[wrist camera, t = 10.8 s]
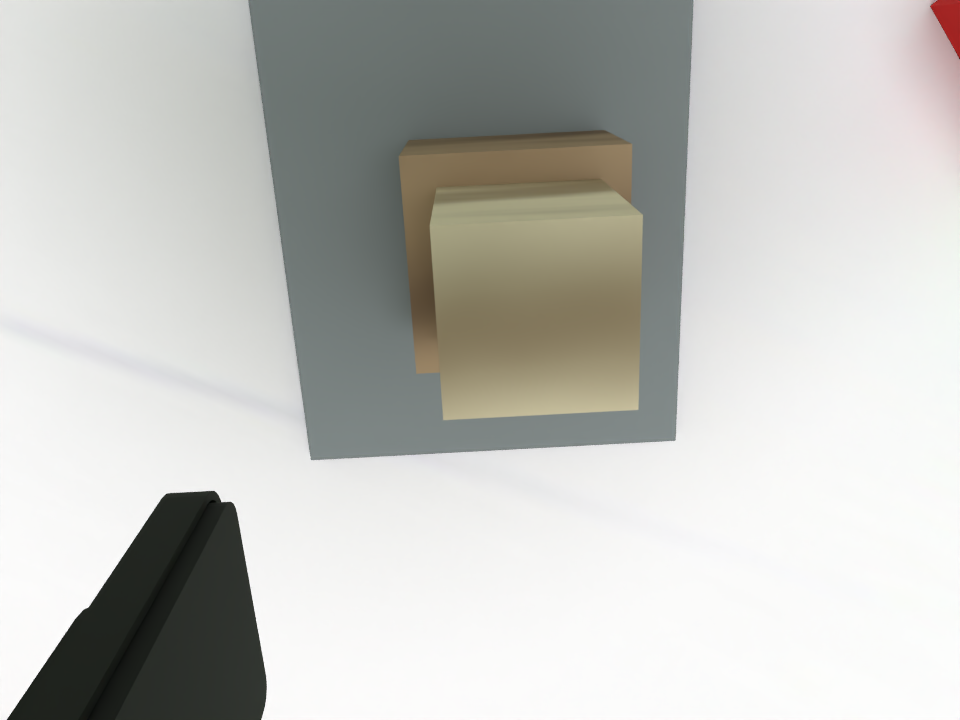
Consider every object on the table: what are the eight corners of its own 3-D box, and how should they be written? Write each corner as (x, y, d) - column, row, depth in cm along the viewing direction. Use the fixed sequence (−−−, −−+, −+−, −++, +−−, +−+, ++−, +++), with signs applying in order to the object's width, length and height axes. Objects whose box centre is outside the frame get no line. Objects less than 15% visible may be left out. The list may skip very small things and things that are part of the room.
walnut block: (408, 139, 29) (398, 155, 24) (604, 129, 29) (632, 143, 24) (422, 326, 31) (416, 373, 27) (603, 316, 31) (628, 362, 27)
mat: (231, -158, 26) (226, -163, 26) (695, -181, 26) (700, -186, 26) (313, 453, 34) (310, 460, 33) (671, 434, 34) (675, 440, 33)
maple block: (436, 187, 25) (429, 226, 19) (601, 178, 25) (643, 214, 19) (446, 342, 26) (443, 420, 21) (600, 334, 26) (638, 410, 21)
